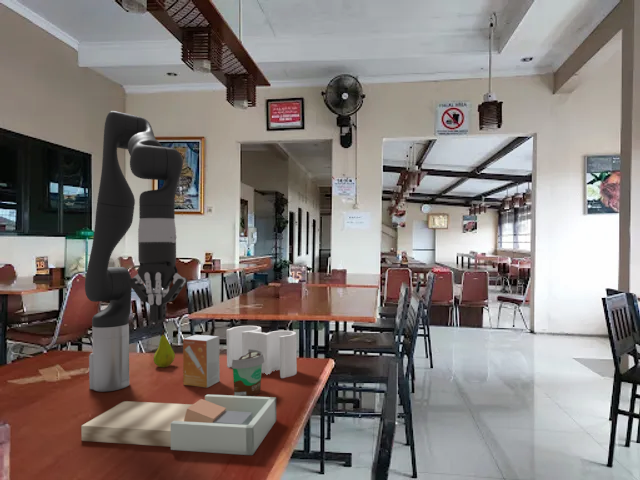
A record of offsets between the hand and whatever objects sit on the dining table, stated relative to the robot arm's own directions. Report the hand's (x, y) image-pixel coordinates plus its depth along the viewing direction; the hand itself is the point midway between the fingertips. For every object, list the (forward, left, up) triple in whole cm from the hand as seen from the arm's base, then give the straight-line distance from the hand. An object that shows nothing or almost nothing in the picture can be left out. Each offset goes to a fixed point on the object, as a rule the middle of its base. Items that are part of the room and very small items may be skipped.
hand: (158, 322), depth 93 cm
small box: (-5, +31, -23) cm, 39 cm away
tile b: (+17, 0, -22) cm, 28 cm away
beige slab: (-3, 0, -23) cm, 23 cm away
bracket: (+8, +47, -23) cm, 53 cm away
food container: (+12, +25, -23) cm, 36 cm away
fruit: (-25, +46, -23) cm, 57 cm away
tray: (+15, 0, -23) cm, 27 cm away
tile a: (+10, 0, -21) cm, 23 cm away
